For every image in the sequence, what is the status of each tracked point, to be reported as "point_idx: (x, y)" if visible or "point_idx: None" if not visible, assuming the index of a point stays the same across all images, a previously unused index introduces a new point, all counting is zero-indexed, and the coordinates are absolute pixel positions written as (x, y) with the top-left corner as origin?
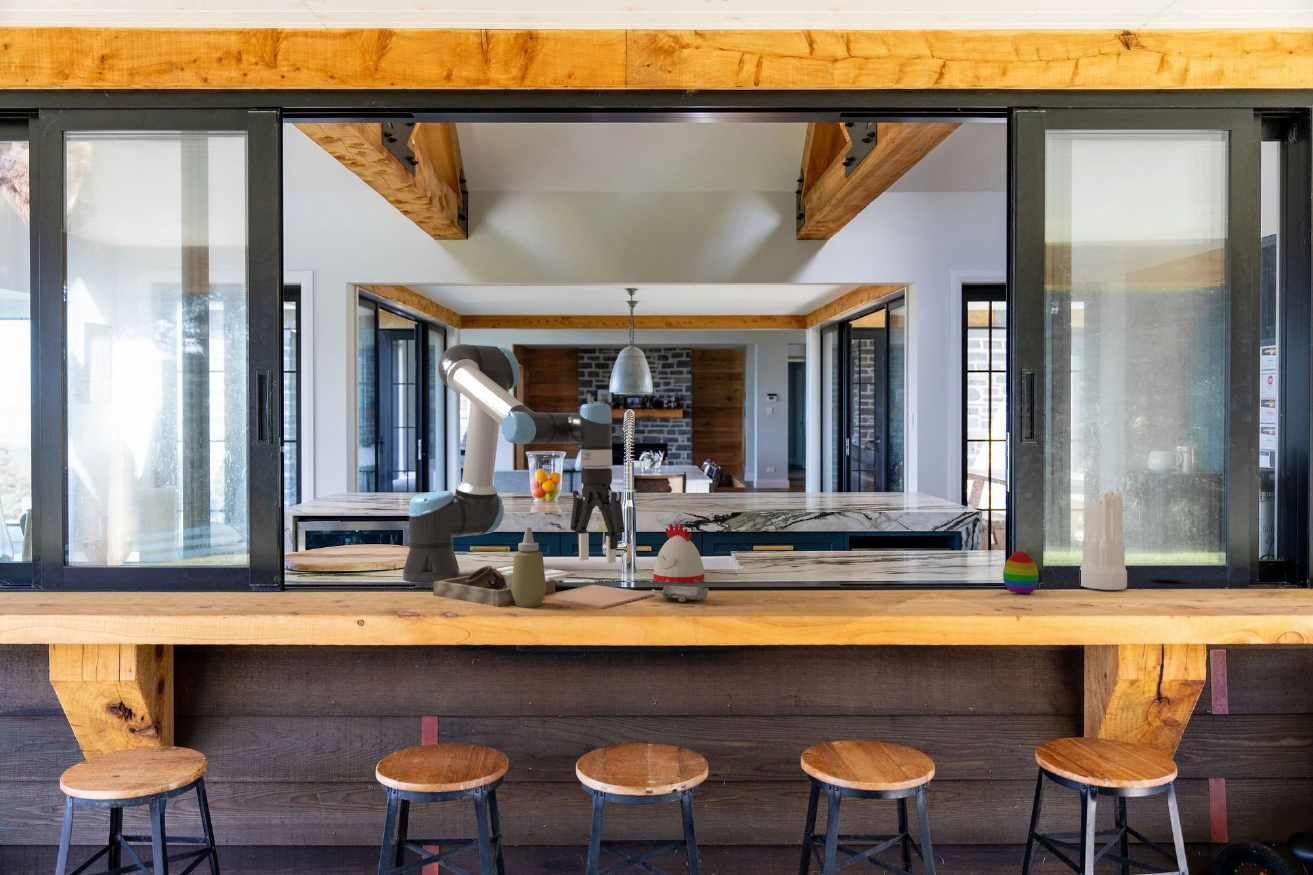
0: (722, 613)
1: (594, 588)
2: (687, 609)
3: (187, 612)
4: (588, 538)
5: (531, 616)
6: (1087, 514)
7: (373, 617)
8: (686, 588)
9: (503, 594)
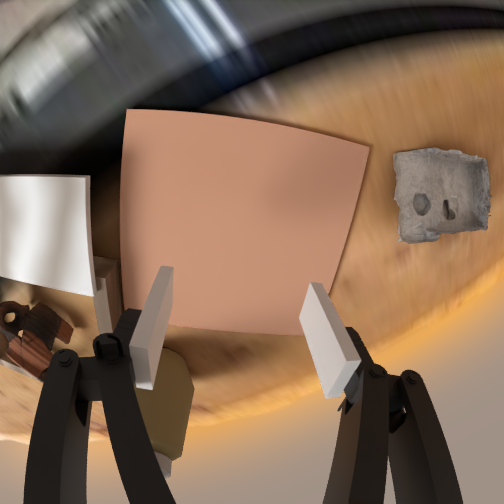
0: (488, 257)
1: (167, 159)
2: (452, 257)
3: (4, 428)
4: (153, 326)
5: (232, 406)
6: None
7: (90, 437)
8: (468, 229)
9: None
